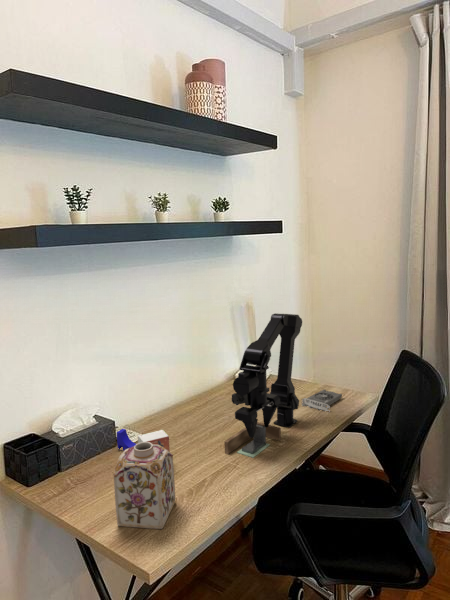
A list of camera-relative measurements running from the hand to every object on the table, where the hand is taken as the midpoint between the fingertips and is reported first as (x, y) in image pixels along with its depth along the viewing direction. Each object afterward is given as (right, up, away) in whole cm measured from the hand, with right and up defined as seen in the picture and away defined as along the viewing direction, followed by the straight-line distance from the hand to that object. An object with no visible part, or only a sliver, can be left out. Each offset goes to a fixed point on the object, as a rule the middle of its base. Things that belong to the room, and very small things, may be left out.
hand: (258, 432), depth 148 cm
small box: (-32, -8, -12) cm, 35 cm away
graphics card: (+29, +1, +34) cm, 45 cm away
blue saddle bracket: (-39, -6, +1) cm, 40 cm away
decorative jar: (-30, -11, -34) cm, 47 cm away
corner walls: (-2, -4, 0) cm, 5 cm away
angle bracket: (-2, -4, -2) cm, 5 cm away
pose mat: (-2, -5, -2) cm, 5 cm away
